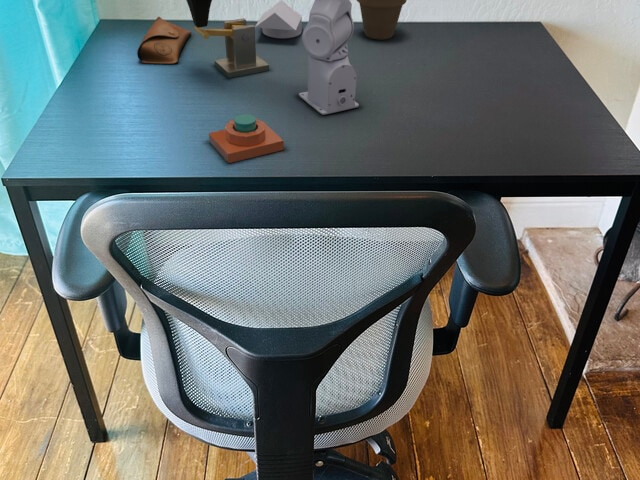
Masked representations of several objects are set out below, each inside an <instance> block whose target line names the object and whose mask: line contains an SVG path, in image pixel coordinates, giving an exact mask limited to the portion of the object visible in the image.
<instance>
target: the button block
mask: <svg viewBox="0 0 640 480" xmlns="http://www.w3.org/2000/svg"><path fill="white" fill-rule="evenodd" d="M224 127H225V128H224V129H222V130H216V131H212V132H208V139H209V143H210V145H211V146H212V147H213V148H214V149H215V150H216V151H217V152H218V153H219V154H220V156H222V158H223V159H224V160H225V161H226V162H227V164H232V163H236V162H241V161H244V160H248V159H252V158H255V157H259V156H260V157H261V156H264V155H269V154H273V153H275V152H276V153H277V152H280V151H284V149H285V147H284V139H282V137H280V136H279V135H278V134H277V133H276V132H275V131H274V130H273V129H272V128H271V127H269V125H267V124H266V122H264V121H263V120H260V119H257V118H256V130H255V131H253V132H249V133H240V132H237V131H235V129H234V119H232V120H230V121H228V122H227V123H226V124H225V126H224Z"/></svg>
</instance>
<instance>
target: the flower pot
mask: <svg viewBox="0 0 640 480" xmlns="http://www.w3.org/2000/svg"><path fill="white" fill-rule="evenodd" d="M356 2H357V3H359V8H360V14H361V21H362V26H363V31H364V34H365V36H366V37H367V38H368V39H373V40H380V41H381V40H382V41H383V40H388V39H391V38H392V37H394V34H395V31H396V28H397V25H398V22H399V20H400V19H399V18H400V16H401V12H402V8H403V6H404V5H405V4H406V3H407V0H356Z"/></svg>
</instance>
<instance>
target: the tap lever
mask: <svg viewBox="0 0 640 480" xmlns="http://www.w3.org/2000/svg"><path fill="white" fill-rule="evenodd" d="M241 26H244V25H232V28H235V27H241ZM232 28H231V29H224V28H204V27H199V28H197V27H196V26H195V25H194V31H195V32H197V33H198V34H199V35H200V36H201V37H203V39H205V40H208V39H209V38H210V37H211V36H212V37H214V36H215V37H225V36H231V38H232V39H233V33H232Z"/></svg>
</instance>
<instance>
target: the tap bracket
mask: <svg viewBox="0 0 640 480" xmlns="http://www.w3.org/2000/svg"><path fill="white" fill-rule="evenodd" d="M232 25H244V26H241V27H235V28H232ZM255 26H256V25H254V24H248V25H247V19H246V18H244V17H243V18H238V19H231V20H225V21H224V20H223V27H224V28H223V29H231V28H232V33H233V39H232V38H231V36H224V41H225V44H224V45H225V55H226V56H225V57H224V58H219V59H214V60H213V61H214V67H216V69H217V70H219V71H220V73H222V74H223V75H224V77H226V78H228V79H233V78H237V77H243V76H247V75H252V74H257V73H258V74H259V73H263V72H269V71H270V64H269V63H267V62H266V61H265V60H264V59H263V58H261V57H260V56H259V55H258V54H257V49H256V48H257V47H256V44H257V43H256V27H255Z"/></svg>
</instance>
